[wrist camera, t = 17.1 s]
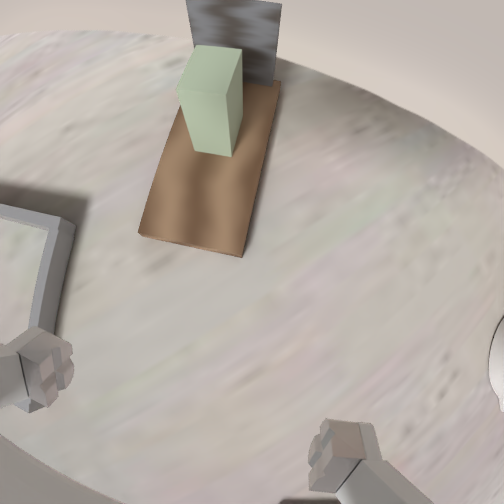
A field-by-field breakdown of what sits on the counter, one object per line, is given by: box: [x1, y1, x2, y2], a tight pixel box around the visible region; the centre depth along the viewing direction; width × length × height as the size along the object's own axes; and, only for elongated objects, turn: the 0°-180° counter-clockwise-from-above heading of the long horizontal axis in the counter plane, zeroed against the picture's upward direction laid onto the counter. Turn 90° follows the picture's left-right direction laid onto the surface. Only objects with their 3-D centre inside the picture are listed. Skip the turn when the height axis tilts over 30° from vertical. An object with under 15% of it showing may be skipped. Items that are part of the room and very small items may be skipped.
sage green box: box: [176, 45, 243, 157], centre depth 31 cm, size 4×6×12 cm
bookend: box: [138, 0, 282, 258], centre depth 31 cm, size 12×24×16 cm, turn 168°
